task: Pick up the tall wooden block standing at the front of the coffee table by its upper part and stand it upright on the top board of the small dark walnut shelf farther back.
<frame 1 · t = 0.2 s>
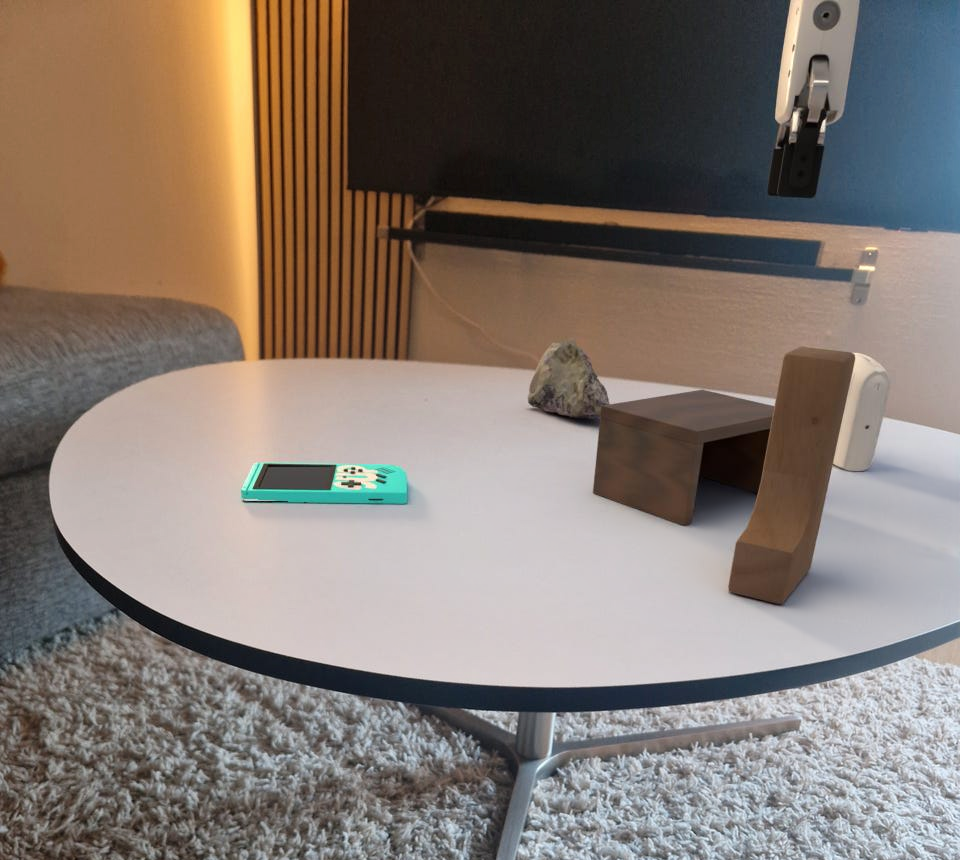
hand: (789, 196, 85), 28 cm above the table, tool pointing down, fingers open, 9 cm apart
mineral rock: (567, 418, 126), on the table
wooden block: (769, 584, 76), on the table
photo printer: (836, 461, 112), on the table
handheld game console: (327, 490, 94), on the table
shelf: (687, 495, 97), on the table
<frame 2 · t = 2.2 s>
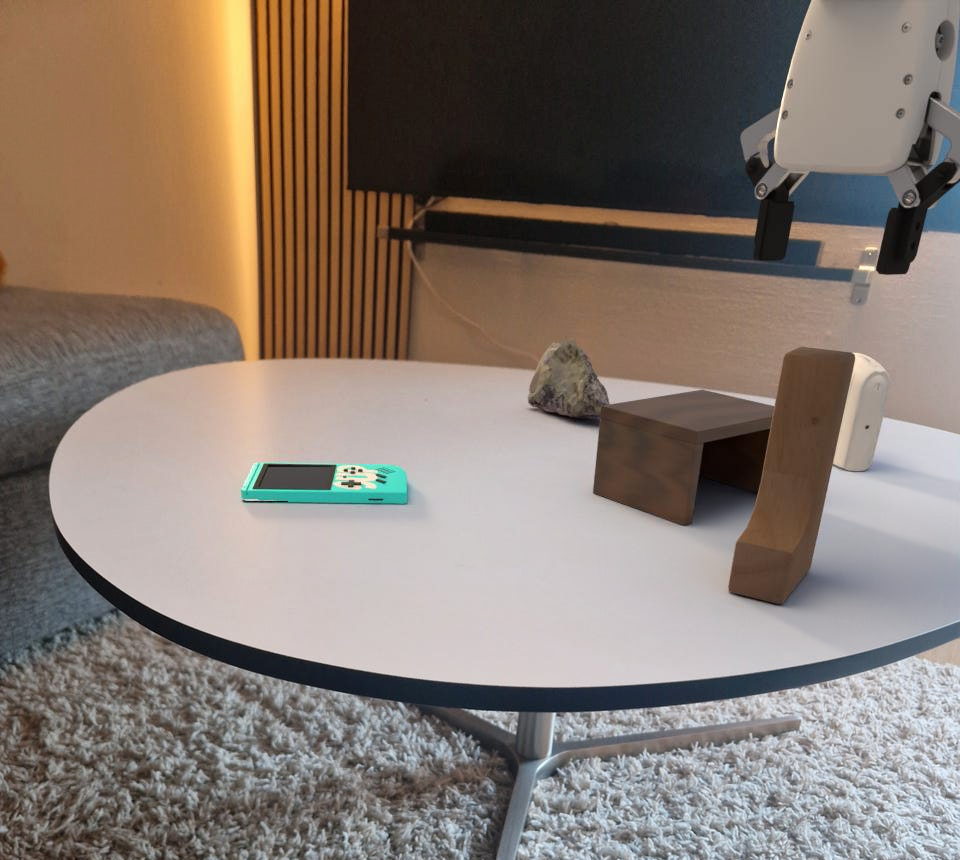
hand: (827, 266, 65), 24 cm above the table, tool pointing down, fingers open, 9 cm apart
nothing on the table moved.
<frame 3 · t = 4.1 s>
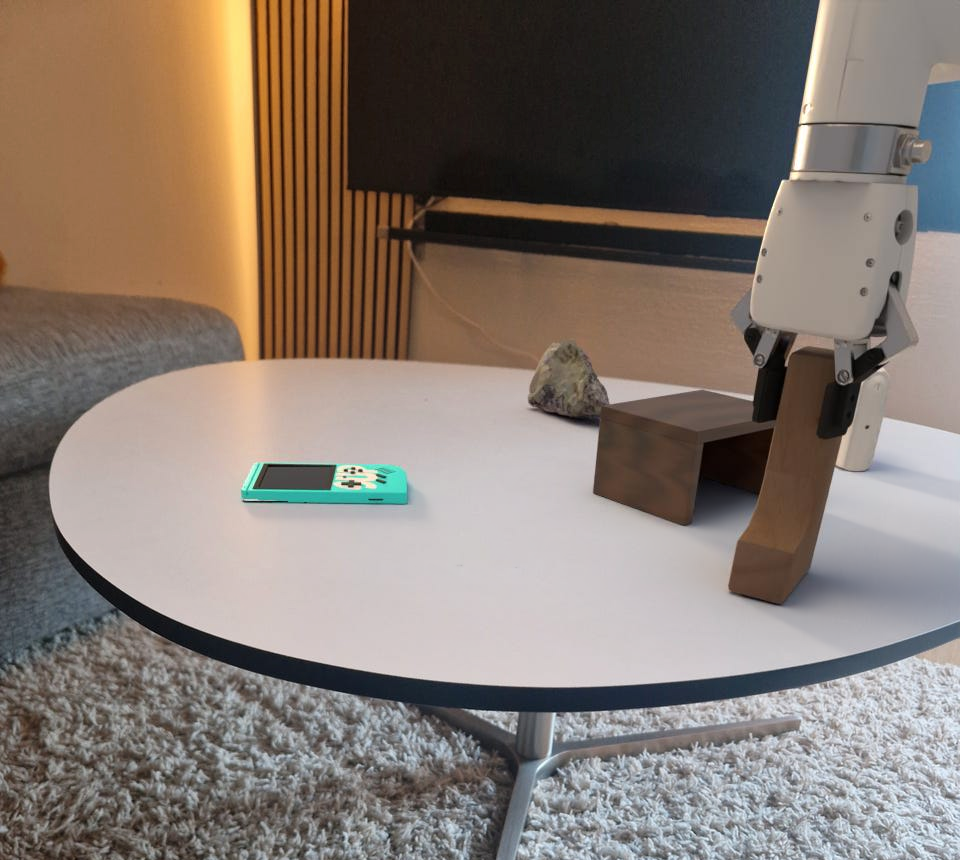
hand: (798, 425, 70), 13 cm above the table, tool pointing down, fingers closed on wooden block, 4 cm apart
wooden block: (768, 583, 76), on the table, touching gripper
everything else where it was.
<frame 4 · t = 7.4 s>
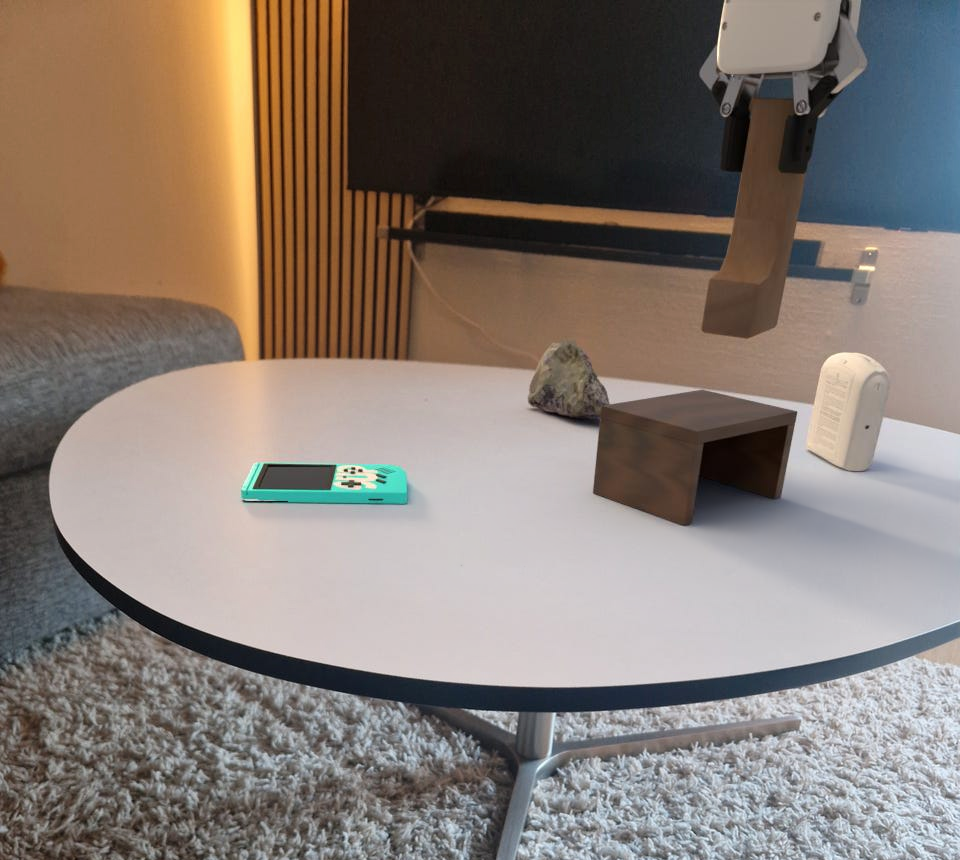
hand: (762, 169, 77), 30 cm above the table, tool pointing down, fingers closed on wooden block, 4 cm apart
wooden block: (738, 332, 83), point 17 cm above the table, touching gripper
everything else where it was.
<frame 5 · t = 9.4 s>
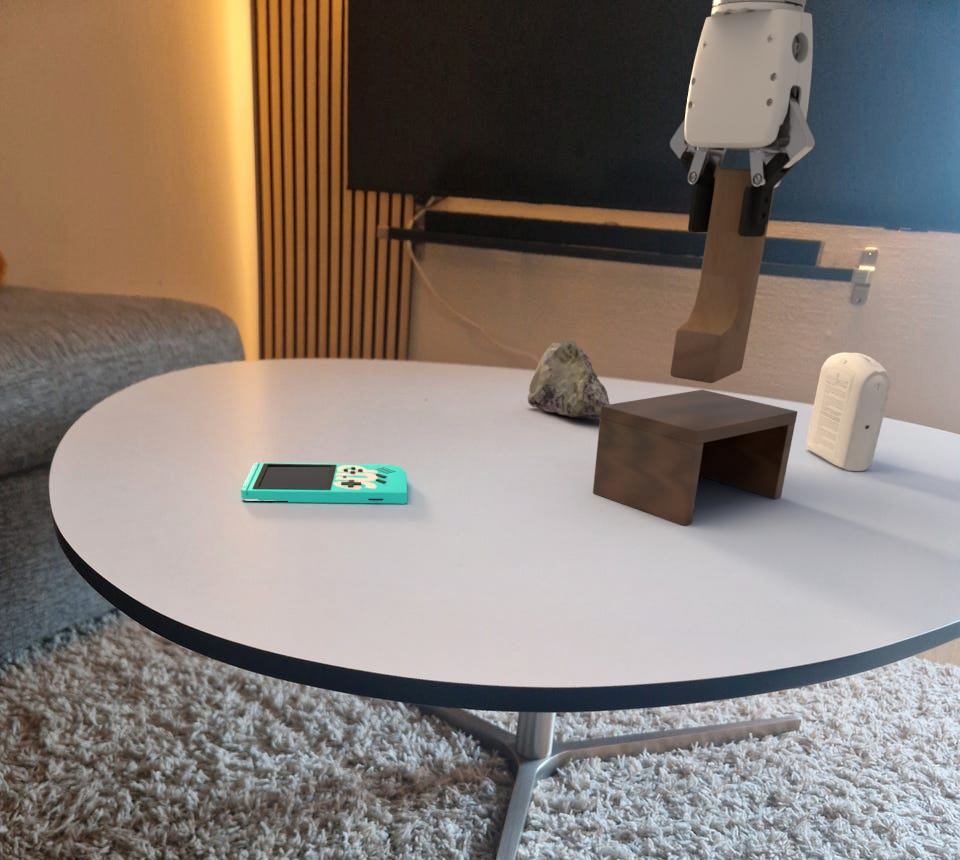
hand: (725, 231, 85), 25 cm above the table, tool pointing down, fingers closed on wooden block, 4 cm apart
wooden block: (706, 376, 91), point 12 cm above the table, touching gripper
everything else where it was.
when the fingers open (22 cm above the table, at t = 10.8 s): wooden block stays where it is, resting on shelf.
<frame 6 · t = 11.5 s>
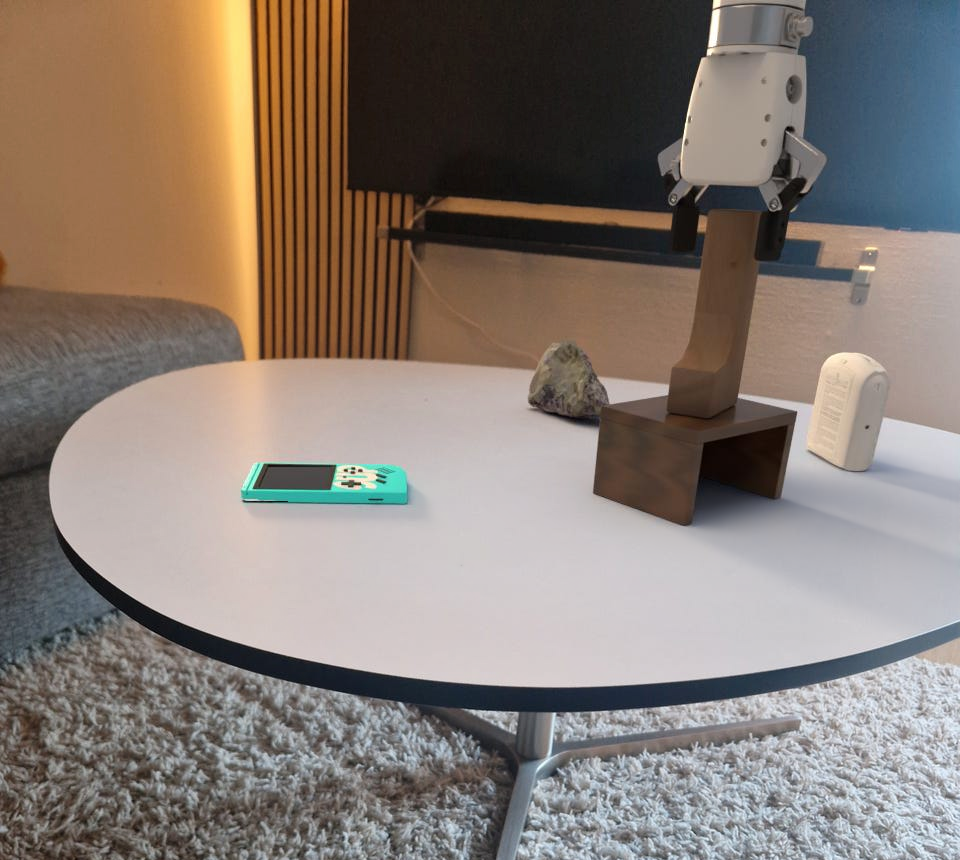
hand: (722, 255, 86), 23 cm above the table, tool pointing down, fingers open, 9 cm apart
wooden block: (701, 410, 92), point 9 cm above the table, touching shelf
everything else where it was.
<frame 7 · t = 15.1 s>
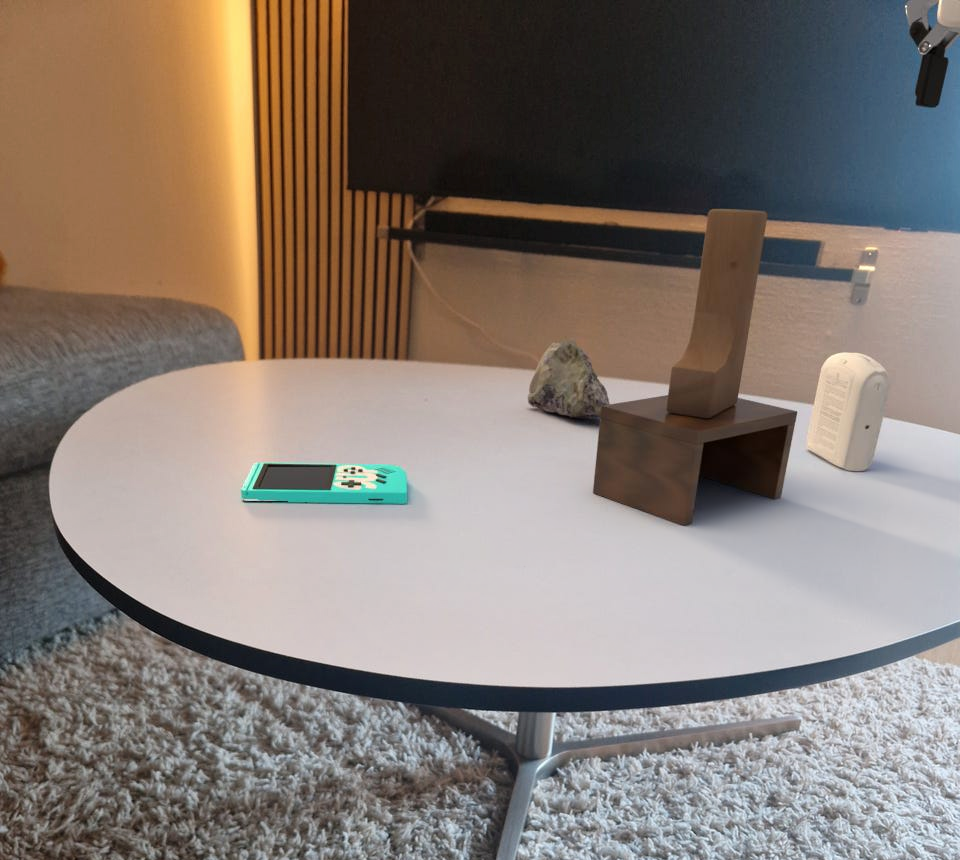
nothing on the table moved.
at the end: wooden block inside the target area on the shelf (0.2 cm from its centre), point 8.8 cm above the shelf's base; wooden block tilted 0°; the gripper is holding nothing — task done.
